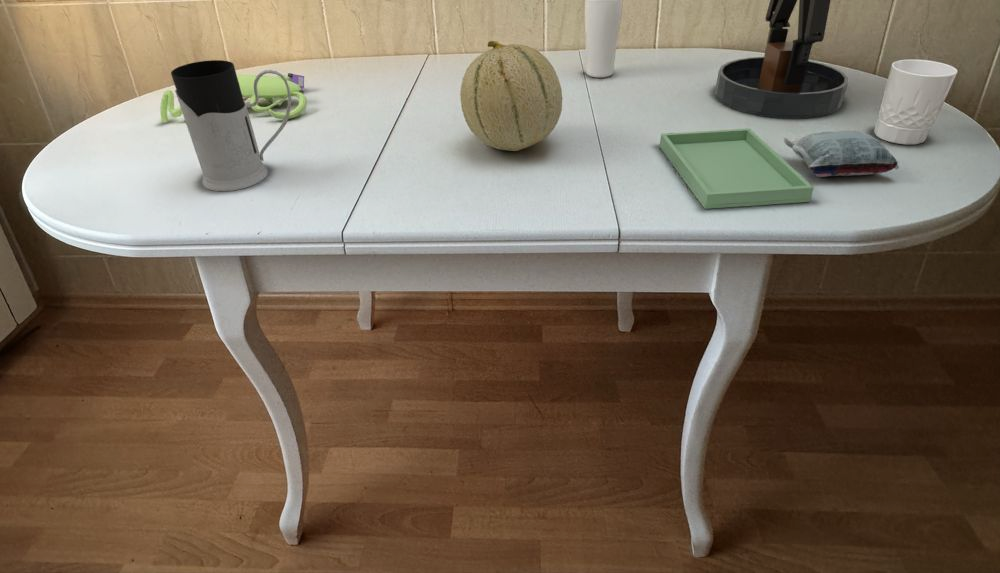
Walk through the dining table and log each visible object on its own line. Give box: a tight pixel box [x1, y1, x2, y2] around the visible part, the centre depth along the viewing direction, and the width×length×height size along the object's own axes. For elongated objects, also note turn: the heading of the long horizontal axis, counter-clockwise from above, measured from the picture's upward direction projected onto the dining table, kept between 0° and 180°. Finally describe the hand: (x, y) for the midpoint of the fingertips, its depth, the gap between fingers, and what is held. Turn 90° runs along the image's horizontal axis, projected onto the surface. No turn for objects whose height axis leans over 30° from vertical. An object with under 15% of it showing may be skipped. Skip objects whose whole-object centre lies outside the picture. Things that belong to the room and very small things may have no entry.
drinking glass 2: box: [584, 0, 624, 79], centre depth 116 cm, size 7×7×15 cm
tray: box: [659, 127, 815, 210], centre depth 83 cm, size 19×13×2 cm
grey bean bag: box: [783, 130, 900, 178], centre depth 82 cm, size 9×12×5 cm
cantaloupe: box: [459, 40, 563, 152], centre depth 89 cm, size 15×15×15 cm
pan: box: [714, 56, 849, 120], centre depth 106 cm, size 20×20×4 cm
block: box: [758, 41, 802, 93], centre depth 104 cm, size 5×5×8 cm
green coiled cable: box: [159, 72, 307, 124], centre depth 111 cm, size 18×27×6 cm
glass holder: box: [170, 59, 292, 192], centre depth 84 cm, size 9×14×15 cm, turn 111°
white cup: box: [873, 58, 958, 145], centre depth 89 cm, size 8×8×10 cm
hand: (781, 75), depth 105 cm, fingers open, 8 cm apart
